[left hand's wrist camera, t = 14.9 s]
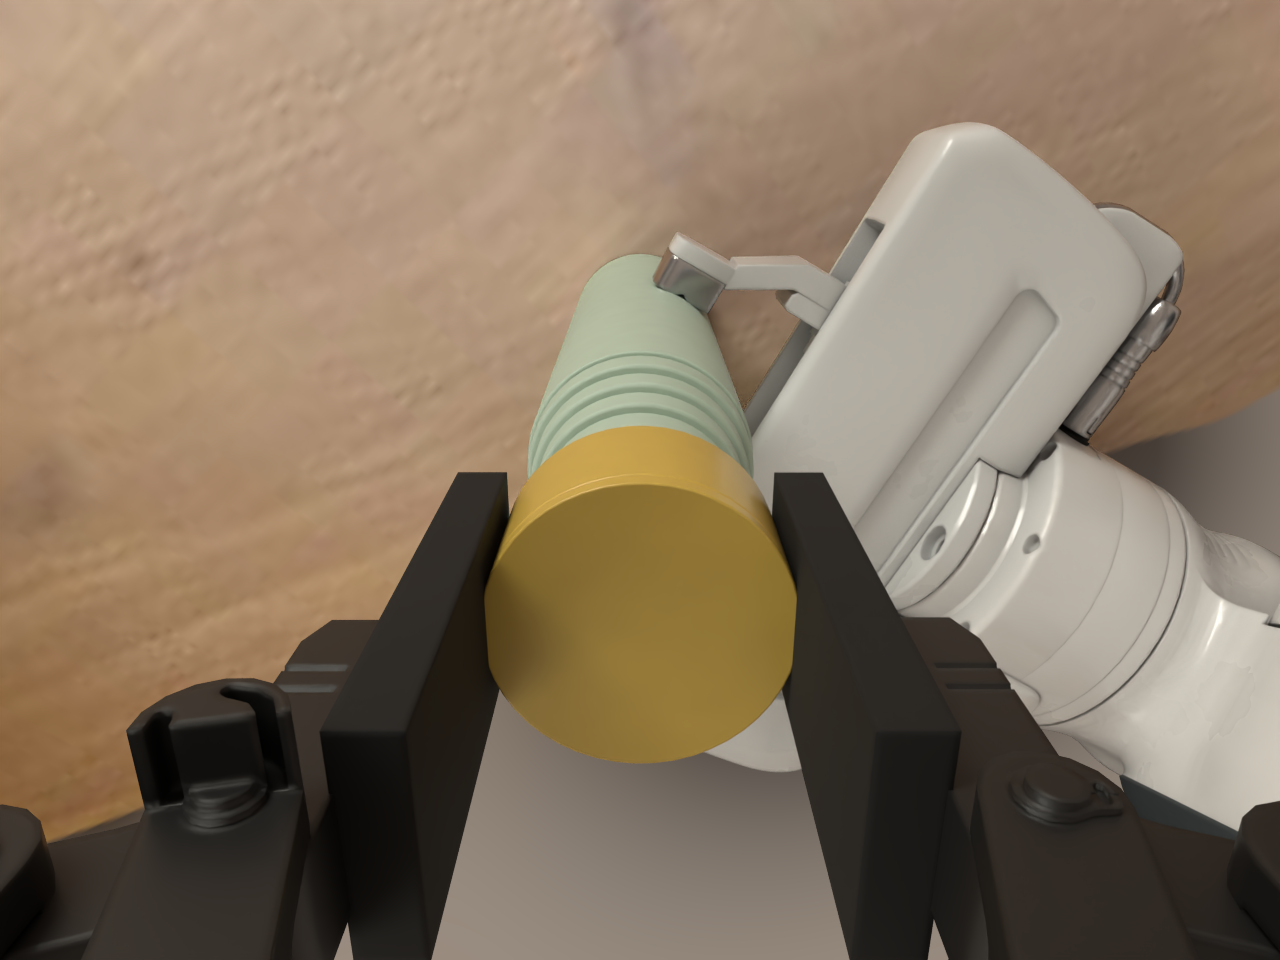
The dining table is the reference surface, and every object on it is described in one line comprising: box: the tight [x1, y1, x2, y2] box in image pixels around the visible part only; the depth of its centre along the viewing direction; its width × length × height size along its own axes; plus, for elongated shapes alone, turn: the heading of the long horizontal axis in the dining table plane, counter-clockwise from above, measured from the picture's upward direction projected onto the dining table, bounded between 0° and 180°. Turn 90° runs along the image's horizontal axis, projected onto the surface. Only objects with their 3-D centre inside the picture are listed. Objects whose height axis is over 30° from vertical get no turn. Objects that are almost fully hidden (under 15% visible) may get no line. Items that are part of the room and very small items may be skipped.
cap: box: [484, 426, 797, 763], centre depth 13 cm, size 4×4×2 cm
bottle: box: [528, 254, 754, 480], centre depth 23 cm, size 5×5×22 cm
